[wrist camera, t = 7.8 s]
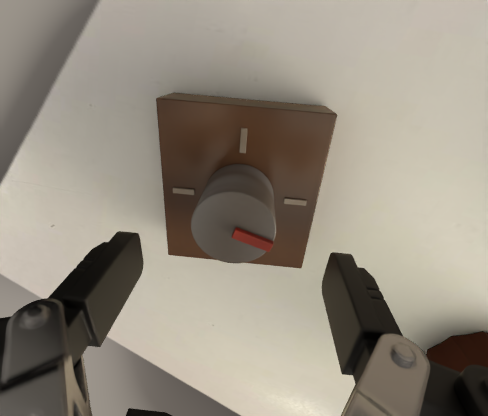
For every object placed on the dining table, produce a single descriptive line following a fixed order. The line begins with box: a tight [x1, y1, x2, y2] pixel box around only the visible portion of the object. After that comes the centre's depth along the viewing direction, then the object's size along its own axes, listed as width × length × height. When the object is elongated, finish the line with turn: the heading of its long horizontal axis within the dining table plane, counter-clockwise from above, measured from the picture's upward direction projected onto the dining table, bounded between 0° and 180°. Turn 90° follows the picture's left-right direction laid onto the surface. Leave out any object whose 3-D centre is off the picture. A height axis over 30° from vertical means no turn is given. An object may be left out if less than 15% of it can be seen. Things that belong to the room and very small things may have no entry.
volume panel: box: [156, 93, 337, 268], centre depth 18 cm, size 11×10×3 cm
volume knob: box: [191, 164, 276, 263], centre depth 15 cm, size 4×4×4 cm
